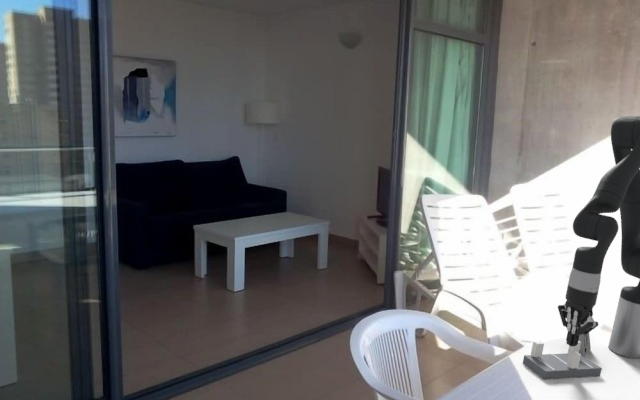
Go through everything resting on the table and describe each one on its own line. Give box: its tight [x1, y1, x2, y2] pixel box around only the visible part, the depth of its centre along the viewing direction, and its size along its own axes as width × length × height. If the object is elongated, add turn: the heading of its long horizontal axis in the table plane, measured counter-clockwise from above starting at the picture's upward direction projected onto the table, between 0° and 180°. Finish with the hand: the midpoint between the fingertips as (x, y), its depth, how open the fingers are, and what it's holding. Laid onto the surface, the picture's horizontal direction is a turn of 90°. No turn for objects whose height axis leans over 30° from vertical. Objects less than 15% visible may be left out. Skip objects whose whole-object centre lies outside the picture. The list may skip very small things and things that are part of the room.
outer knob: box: [530, 340, 545, 357], centre depth 154 cm, size 2×2×4 cm
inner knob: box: [567, 341, 581, 353], centre depth 158 cm, size 2×2×4 cm
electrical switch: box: [577, 328, 591, 358], centre depth 167 cm, size 9×5×9 cm, turn 141°
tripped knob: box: [567, 352, 581, 368], centre depth 149 cm, size 2×2×4 cm
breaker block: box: [522, 352, 603, 381], centre depth 153 cm, size 19×9×3 cm, turn 108°
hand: (571, 345), depth 151 cm, fingers closed
